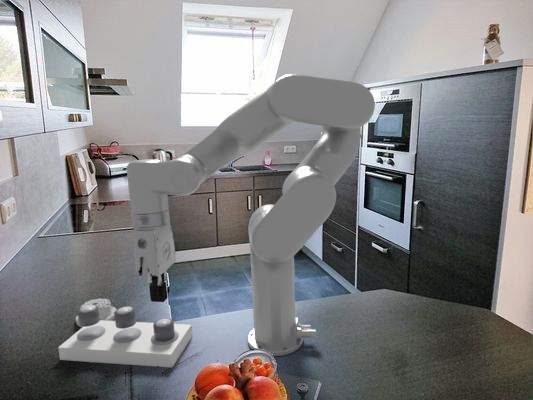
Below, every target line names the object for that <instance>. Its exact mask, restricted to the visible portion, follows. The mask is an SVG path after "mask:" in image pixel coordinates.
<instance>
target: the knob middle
mask: <svg viewBox="0 0 533 400" xmlns="http://www.w3.org/2000/svg"><path fill="white" fill-rule="evenodd" d="M114 316H115V319H114V321H115V324H116V327H117V328H120V329H124V328H129V327H131V326H133V325H135V324H136V322H137V315H136V309H135V307H133V306H123V307H120V308H117V309H116V311H115V312H114Z"/></svg>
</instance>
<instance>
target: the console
mask: <svg viewBox="0 0 533 400" xmlns="http://www.w3.org/2000/svg"><path fill="white" fill-rule="evenodd" d="M154 323H155V322H145V321H144V322H143V321H141V322H140V321H136V324H135V325H133V326H131V327H129V328H124V329H120V328H117V327H116V324H115V320H112V321H105V320H100V321H99V322H98V323H97V324H95V325H92V326H87V327H80V329H79V330H78V331H76V332H75V333H74V334H72V335H71V336H70V337H69V338H68V339H67V340H65V341H64V342H63V343H61V344H60V345H59V346H58V355H59V359H60V361H73V362H87V363H100V364H101V363H102V364H112V365H113V364H115V365H116V364H117V365H131V366H132V365H133V366H146V367H157V366H159V367H161V368H173V367H174V366H175V364H176V362H177V361H178V360H179V358H180V356H181V355H182V353H183V352H184V350H185V349H186V346H187V345H188V344H189V343H190V341H191V339H192V338H193V329H192V327H193V326H192V324H183V323H174V331H175V336H174V337H173V338H172V339H170V340H167V341H157V340H155V338H154V328H153V324H154Z"/></svg>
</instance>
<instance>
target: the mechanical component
mask: <svg viewBox="0 0 533 400" xmlns="http://www.w3.org/2000/svg"><path fill="white" fill-rule="evenodd" d="M88 305H96V306H98V307H99V314H100V320H105V321H114V320H115V316H114V312H115V311H116V310H117V308H116V307H114V306H113V305H112V303H111V300H110V299H109V298H101V297H99V298H97V299H90V300H87V301H85V302H84V304H81V305H80V307H79V309H81V308H83V307H85V306H88ZM75 322H76V325H77V326H78V327H80V328H82V327H83V326H80V325H79V319H78V315H76V316H75Z"/></svg>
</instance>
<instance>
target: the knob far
mask: <svg viewBox="0 0 533 400" xmlns="http://www.w3.org/2000/svg"><path fill="white" fill-rule="evenodd" d="M77 316H78V319H79V325H80V326H83V327H87V326H92V325H95V324H97V323H98V322H99V321H100V314H99V307H98V306H96V305H88V306H85V307H83V308H81V309H80V308H79V309H78V310H77Z"/></svg>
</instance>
